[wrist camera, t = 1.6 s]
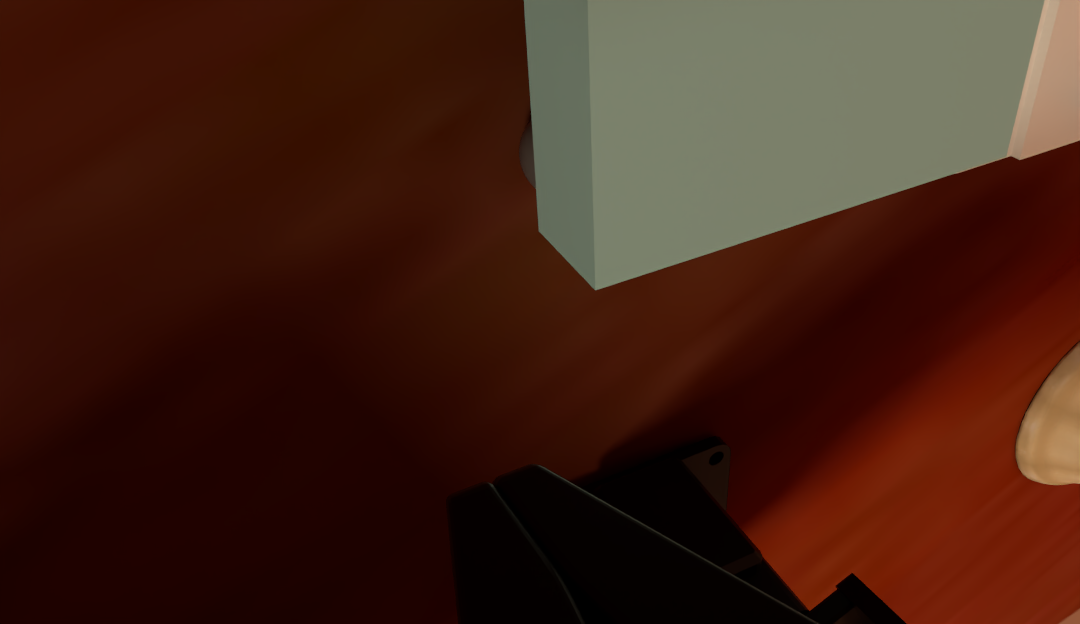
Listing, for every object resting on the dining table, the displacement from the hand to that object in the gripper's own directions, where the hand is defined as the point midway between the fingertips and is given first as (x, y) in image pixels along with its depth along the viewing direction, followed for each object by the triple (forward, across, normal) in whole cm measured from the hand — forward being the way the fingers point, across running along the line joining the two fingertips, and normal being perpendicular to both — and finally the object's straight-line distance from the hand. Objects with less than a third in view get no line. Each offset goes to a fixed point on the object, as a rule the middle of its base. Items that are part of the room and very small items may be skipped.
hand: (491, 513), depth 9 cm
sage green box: (+12, -10, 0) cm, 16 cm away
